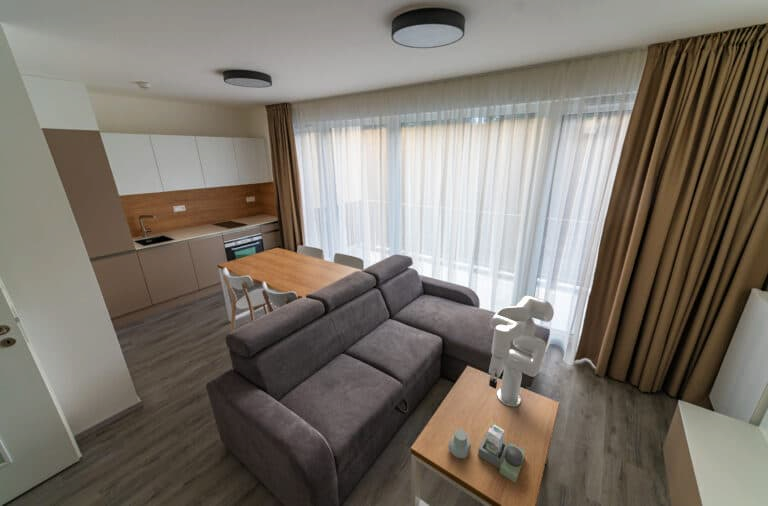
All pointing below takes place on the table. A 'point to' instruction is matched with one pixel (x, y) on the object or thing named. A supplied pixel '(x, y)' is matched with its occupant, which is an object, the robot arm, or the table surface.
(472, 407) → the table surface
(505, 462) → the grey square sleeve
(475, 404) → the table surface
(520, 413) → the table surface
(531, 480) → the table surface
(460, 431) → the air freshener
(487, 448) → the syrup box
